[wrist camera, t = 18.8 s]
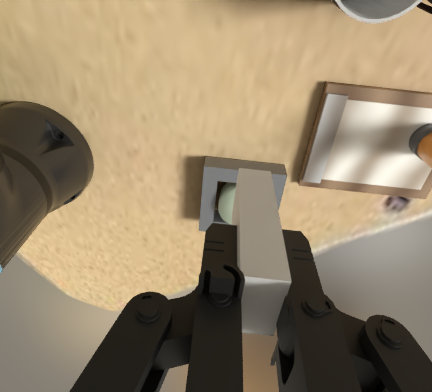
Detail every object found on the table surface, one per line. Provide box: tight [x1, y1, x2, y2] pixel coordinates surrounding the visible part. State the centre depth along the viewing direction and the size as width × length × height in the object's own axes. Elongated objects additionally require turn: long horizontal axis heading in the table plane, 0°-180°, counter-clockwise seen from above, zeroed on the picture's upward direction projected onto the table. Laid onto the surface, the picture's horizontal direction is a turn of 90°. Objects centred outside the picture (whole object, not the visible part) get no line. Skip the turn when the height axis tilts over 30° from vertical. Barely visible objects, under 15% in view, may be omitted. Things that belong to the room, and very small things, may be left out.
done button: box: [218, 182, 237, 225], centre depth 44 cm, size 6×6×3 cm
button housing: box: [199, 156, 287, 231], centre depth 45 cm, size 11×11×3 cm
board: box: [298, 82, 432, 199], centre depth 40 cm, size 18×14×2 cm
